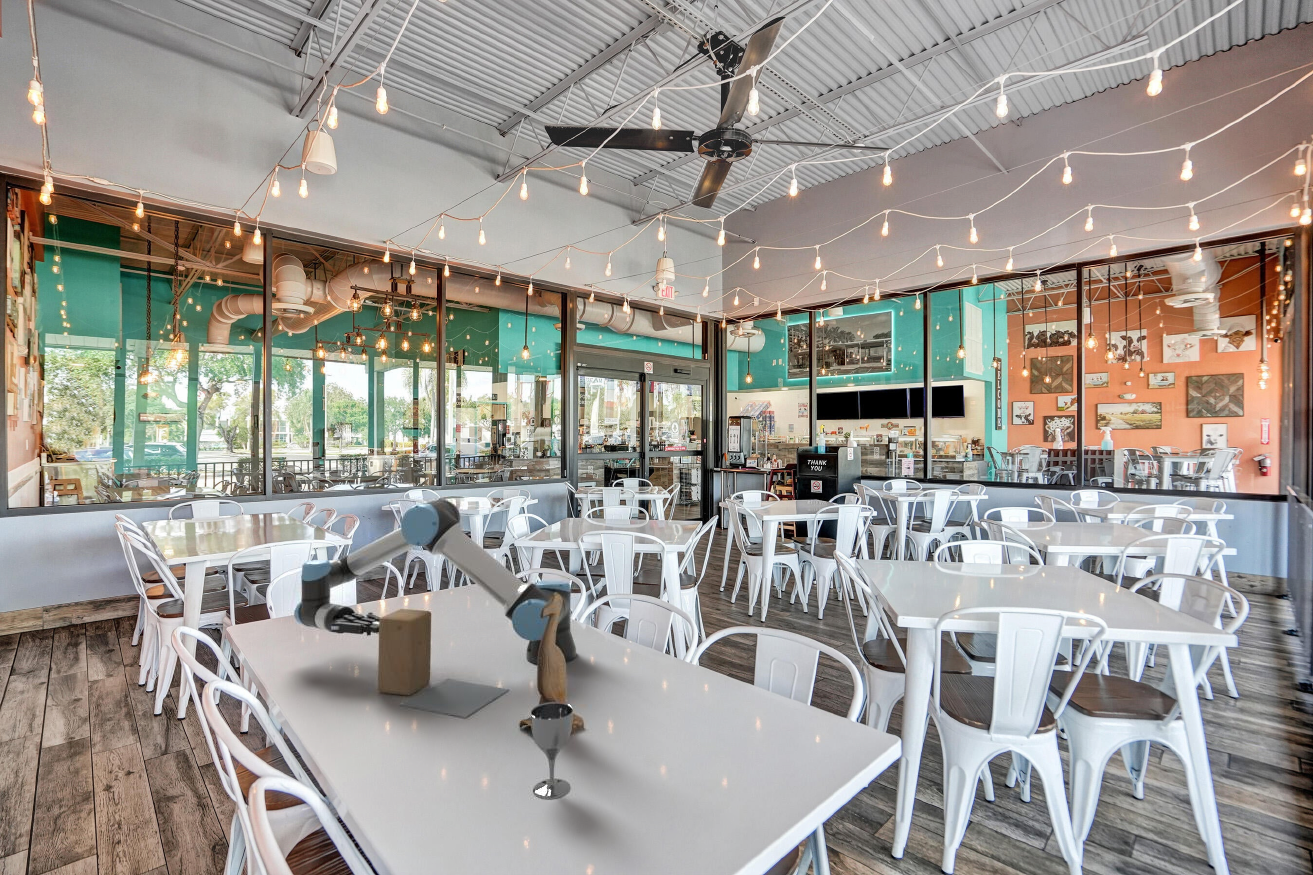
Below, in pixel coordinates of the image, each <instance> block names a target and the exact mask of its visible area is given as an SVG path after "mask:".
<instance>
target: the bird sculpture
mask: <svg viewBox="0 0 1313 875" xmlns="http://www.w3.org/2000/svg"><path fill="white" fill-rule="evenodd" d="M562 603H563V600H562V597H561V596H560V593H558V592H555V593H553V594H552V596H551V598H550V599H549V600H548V602H547V603H546V604H545V605H544V606H543V609H542V612H541V618H545V617H547V616H549V618H548V621H547V624H546V627H545V630H544V633H543V636H542V639H541V643H540V647H539V651H538V662H537V667H536V668H537V669H536V670H537V672H536V674H537V675H536V685H537V686H536V687H537V691H538V693H539V695H540V699H539V702H538V705H540V704H543V703H548V702H562V703H566V704H567V662H565V658H564V655H563V653H562V651H561V650H560V649H559V647H557V646H556V645H555V640H556V630H557V625H558V619H559V615H560V611H561V608H562ZM518 725H519V729H521V728H524V727H525V726H530V727H531V716H530V717H527V718H525V719H522V720H521V721H519V724H518ZM584 725H585V721H584V719H583V717H581V716H579V715H577V714H575V713H573V722H572V730H571V734H574V733H575V732H579V731H581V730H582V728H583V729H584V728H585V726H584ZM578 730H579V731H578Z"/></svg>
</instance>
